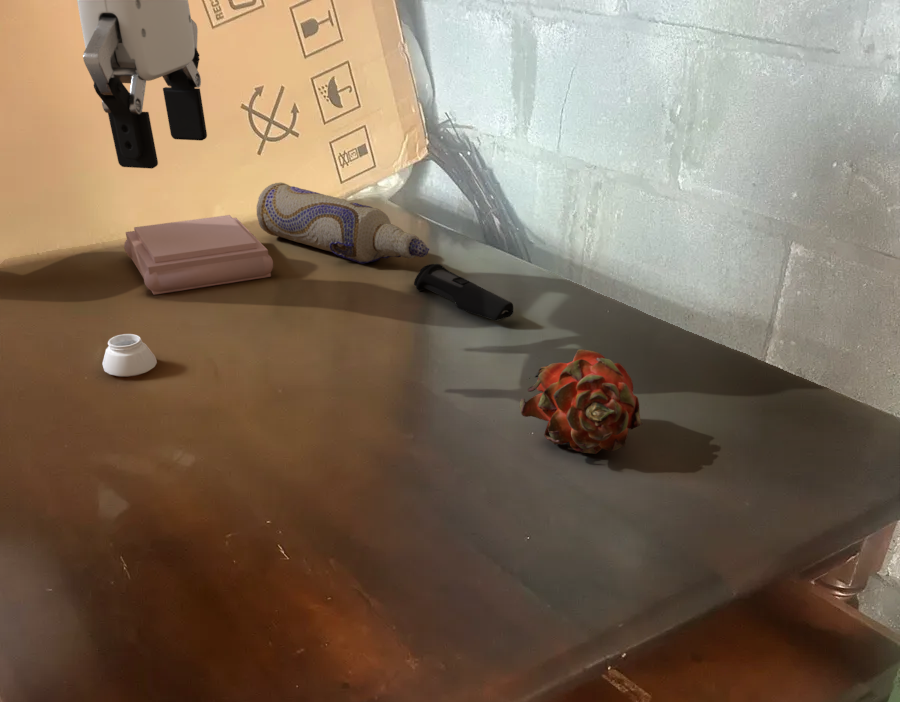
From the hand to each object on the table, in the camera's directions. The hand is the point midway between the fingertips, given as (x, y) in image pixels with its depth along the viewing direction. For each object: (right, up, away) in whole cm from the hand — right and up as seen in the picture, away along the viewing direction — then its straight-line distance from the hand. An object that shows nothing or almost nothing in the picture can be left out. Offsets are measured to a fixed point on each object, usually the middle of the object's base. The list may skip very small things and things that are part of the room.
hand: (165, 152), depth 77 cm
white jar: (-7, -15, +12) cm, 21 cm away
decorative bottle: (+10, +6, +39) cm, 40 cm away
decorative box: (-7, +3, +35) cm, 36 cm away
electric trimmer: (+26, -5, +26) cm, 37 cm away
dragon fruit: (+35, -24, +1) cm, 43 cm away
